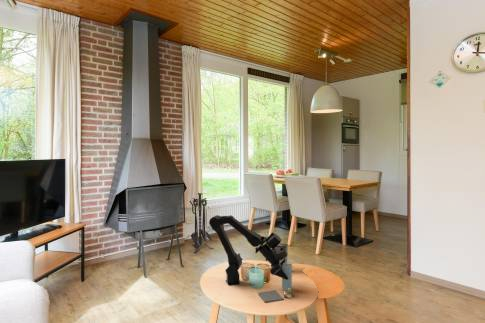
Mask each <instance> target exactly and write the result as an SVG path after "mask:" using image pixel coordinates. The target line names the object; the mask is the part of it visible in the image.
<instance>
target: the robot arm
mask: <svg viewBox="0 0 485 323" xmlns="http://www.w3.org/2000/svg"><path fill="white" fill-rule="evenodd" d="M208 223H209V226H210V227H211V228H212V230H213V231H214V232H215V233H216V234H217V237H218V238H219V241H220V243H221V245H222V247H223V249H224V251H225V254H226V256H227V262H228V266H227V267H226V269H225V274H226V279H225V282H226V284H227V285H228V286H234V285H240V273H239V270H240V268H241V267H242V265H243V258H242V257H241V253H236V251H235V249H234V247H233V245H232V243H231V241H230V239H229V236H228V234H227V232H226V230H225V225H228V224H229V225H230V226H231V227H232V228H233V229H234V230H236V231H237V232H238V233H240V235H242V236H244V238H246V241H247V242H248V243H249V244H250V246H252V247H253V248H254V249H255V254H258V253H260V254H261V255H262V257H264V259H265V261H266V262H268V263H269V264H270V269H269V273H270V274H271V275H272V276H277V277H280V278H281V279H282V278H284V279H286V280H288V277H287V275H286V274H285V273H284V271H283V267H282V265H283V263H285V259H286V258H285V257H287V258H288V255H289V253H288V249H287V250H286V249H285V248H283V247H281V248H280V251H278V252H276V251H273V250H272V248H275V247H276V246H277V245H278V244H279V243H282V239H281V237H280V236H279V235H278V234H276V233H275V232H273V231H272V232H271V233H270V234H269V235H268V236H267V237H266V236H262V235H261V234H259V233H257V232H255V231H254V230H251V229H249V228H248V227H247V226H245V225H244V224H243V223H242V222H240V221H239V220H237V219H236V218H235V217H234V216H233V215H219V214H218V215H214V216H212V217H211V218H209V221H208ZM283 258H284V259H283Z"/></svg>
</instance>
